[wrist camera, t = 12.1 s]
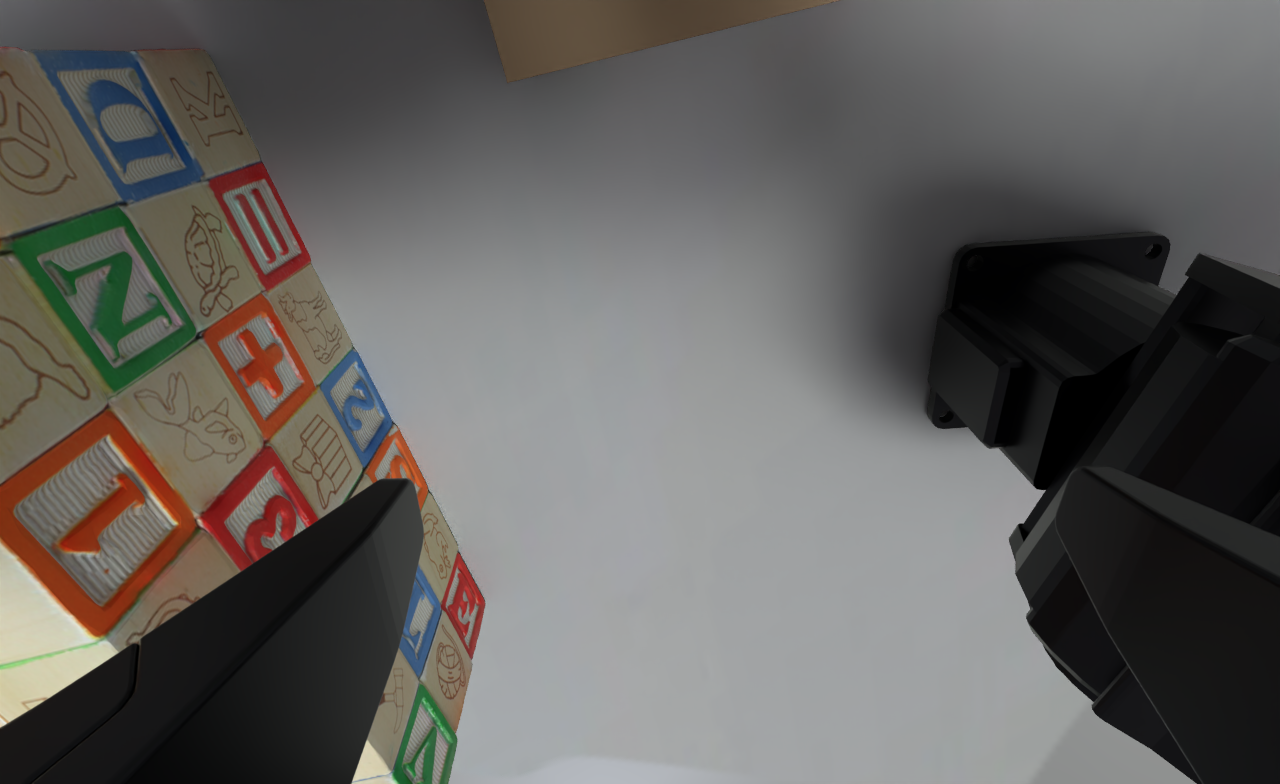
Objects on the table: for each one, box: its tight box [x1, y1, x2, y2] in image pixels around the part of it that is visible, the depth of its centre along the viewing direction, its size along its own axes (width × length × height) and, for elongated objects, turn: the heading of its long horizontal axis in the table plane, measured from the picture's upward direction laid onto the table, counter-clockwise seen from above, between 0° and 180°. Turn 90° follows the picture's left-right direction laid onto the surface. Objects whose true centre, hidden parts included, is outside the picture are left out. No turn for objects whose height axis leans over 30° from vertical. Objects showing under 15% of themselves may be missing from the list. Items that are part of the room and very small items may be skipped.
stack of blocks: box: [0, 47, 486, 784], centre depth 18 cm, size 21×6×12 cm, turn 15°
